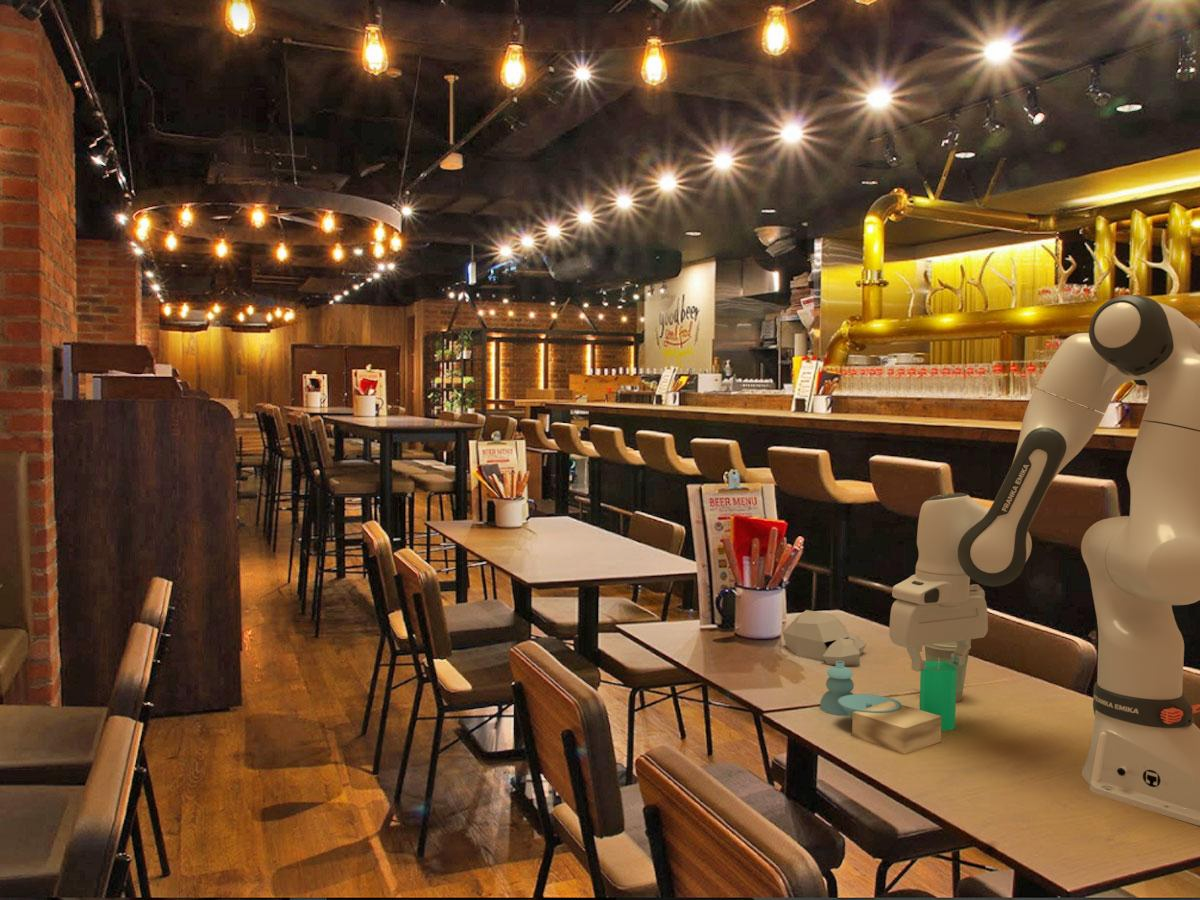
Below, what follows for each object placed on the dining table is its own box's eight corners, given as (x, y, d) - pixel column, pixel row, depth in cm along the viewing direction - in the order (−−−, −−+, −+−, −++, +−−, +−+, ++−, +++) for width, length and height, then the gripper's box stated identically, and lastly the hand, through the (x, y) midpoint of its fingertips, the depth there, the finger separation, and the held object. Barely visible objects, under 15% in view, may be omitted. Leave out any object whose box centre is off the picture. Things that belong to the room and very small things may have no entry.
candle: (924, 718, 175) (926, 651, 175) (959, 725, 172) (961, 656, 171) (913, 727, 171) (915, 658, 170) (949, 734, 167) (951, 664, 166)
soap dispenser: (913, 734, 165) (914, 680, 165) (858, 741, 162) (858, 686, 162) (855, 704, 183) (855, 655, 182) (804, 709, 179) (804, 660, 179)
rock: (864, 648, 225) (865, 605, 224) (871, 672, 205) (872, 626, 204) (782, 643, 228) (783, 602, 227) (781, 667, 208) (782, 621, 208)
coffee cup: (973, 706, 182) (975, 641, 182) (924, 703, 184) (926, 638, 183) (965, 692, 191) (967, 630, 190) (919, 689, 193) (920, 628, 192)
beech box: (941, 746, 162) (941, 716, 162) (904, 760, 156) (905, 728, 156) (888, 729, 170) (889, 700, 170) (851, 742, 164) (852, 712, 164)
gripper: (969, 580, 178) (966, 656, 179) (884, 588, 168) (881, 669, 169) (999, 586, 172) (995, 665, 173) (913, 595, 162) (909, 678, 163)
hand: (938, 667), depth 171 cm, fingers open, 8 cm apart
